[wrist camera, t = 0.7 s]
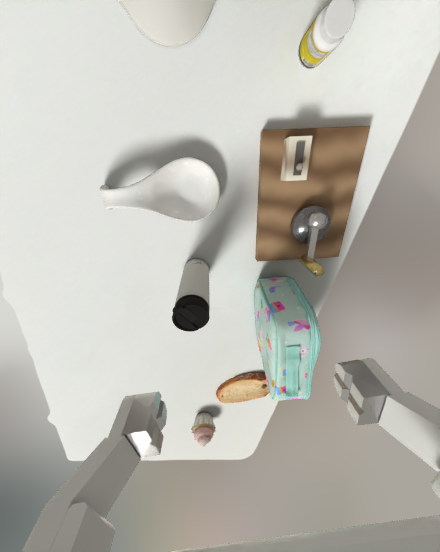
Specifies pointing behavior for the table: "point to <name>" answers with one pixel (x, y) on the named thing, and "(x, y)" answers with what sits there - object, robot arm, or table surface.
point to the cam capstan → (310, 232)
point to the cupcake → (203, 428)
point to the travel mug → (192, 297)
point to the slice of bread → (243, 388)
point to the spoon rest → (171, 191)
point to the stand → (306, 186)
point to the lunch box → (286, 337)
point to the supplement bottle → (326, 32)
